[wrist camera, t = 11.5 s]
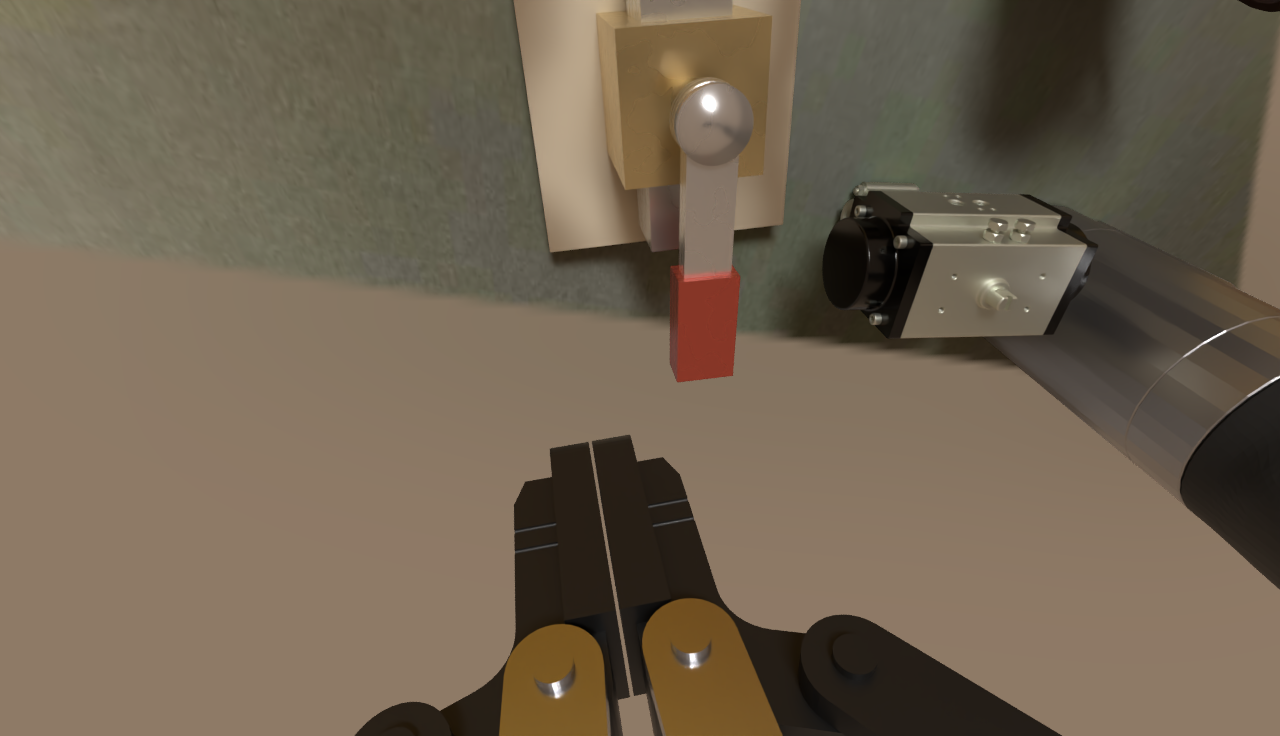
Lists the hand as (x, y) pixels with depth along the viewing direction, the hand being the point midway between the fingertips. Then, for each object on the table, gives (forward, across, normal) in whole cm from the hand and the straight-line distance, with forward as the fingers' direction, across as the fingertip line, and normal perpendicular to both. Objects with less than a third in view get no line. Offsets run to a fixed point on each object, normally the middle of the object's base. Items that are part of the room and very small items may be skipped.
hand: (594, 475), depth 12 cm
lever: (+15, -6, +2) cm, 17 cm away
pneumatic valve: (+25, -19, +6) cm, 32 cm away
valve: (+23, -6, -2) cm, 24 cm away
